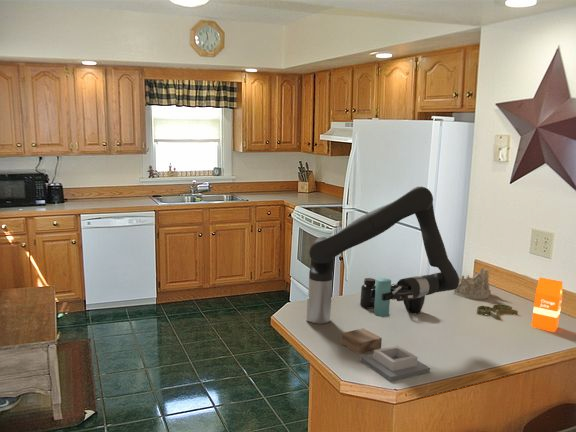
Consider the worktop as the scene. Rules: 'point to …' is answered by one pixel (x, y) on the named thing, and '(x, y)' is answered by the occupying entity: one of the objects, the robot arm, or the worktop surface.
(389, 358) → the socket base
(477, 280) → the sand castle
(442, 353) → the worktop surface
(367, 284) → the supplement bottle
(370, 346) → the stand
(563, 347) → the worktop surface
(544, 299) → the orange juice
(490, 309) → the cookie cutter
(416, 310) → the mug
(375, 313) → the peg
